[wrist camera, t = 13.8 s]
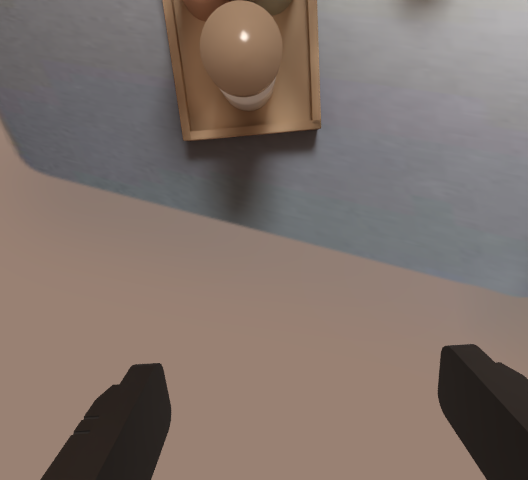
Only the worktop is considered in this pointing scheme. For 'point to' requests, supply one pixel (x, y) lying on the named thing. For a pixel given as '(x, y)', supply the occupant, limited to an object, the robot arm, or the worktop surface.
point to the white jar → (242, 53)
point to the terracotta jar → (203, 7)
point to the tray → (285, 89)
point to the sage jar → (272, 5)
